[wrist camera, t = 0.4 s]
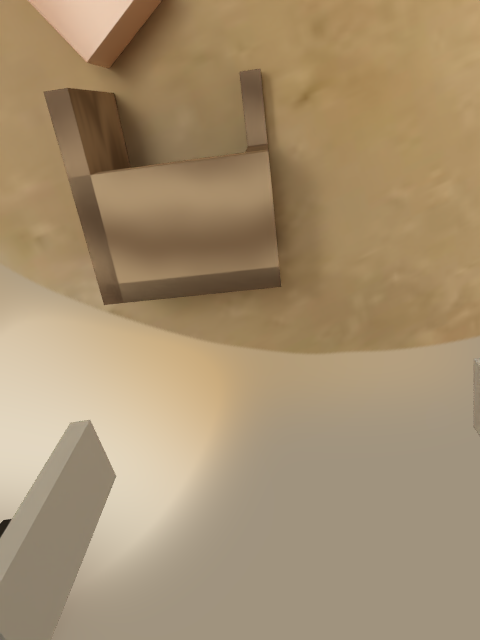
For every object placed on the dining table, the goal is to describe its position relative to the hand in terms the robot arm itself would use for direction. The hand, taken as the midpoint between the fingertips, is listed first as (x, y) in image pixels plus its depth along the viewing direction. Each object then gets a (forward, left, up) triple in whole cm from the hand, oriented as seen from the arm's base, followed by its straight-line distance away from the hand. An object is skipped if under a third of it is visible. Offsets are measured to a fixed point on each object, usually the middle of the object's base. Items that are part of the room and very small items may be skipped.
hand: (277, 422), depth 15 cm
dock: (-5, -6, -26) cm, 27 cm away
